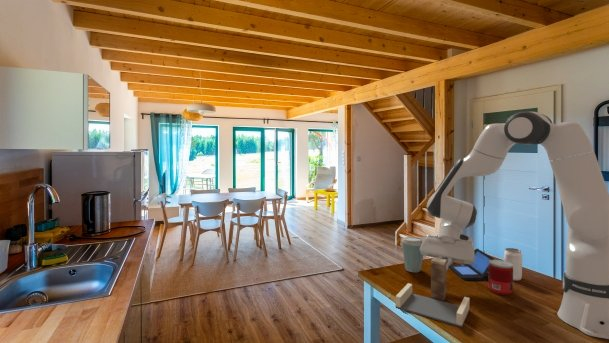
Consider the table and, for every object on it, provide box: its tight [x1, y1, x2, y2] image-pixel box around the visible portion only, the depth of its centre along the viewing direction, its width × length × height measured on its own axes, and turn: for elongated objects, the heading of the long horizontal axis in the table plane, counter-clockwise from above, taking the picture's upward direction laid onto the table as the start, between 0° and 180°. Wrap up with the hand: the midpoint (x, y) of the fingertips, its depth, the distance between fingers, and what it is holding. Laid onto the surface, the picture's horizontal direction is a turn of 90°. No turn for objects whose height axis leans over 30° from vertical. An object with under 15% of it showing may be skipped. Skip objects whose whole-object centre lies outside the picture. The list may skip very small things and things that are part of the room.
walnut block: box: [430, 257, 448, 301], centre depth 116 cm, size 4×4×14 cm
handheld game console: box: [448, 248, 496, 281], centre depth 138 cm, size 16×13×9 cm
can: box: [503, 247, 523, 281], centre depth 132 cm, size 6×6×12 cm
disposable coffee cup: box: [401, 236, 424, 273], centre depth 142 cm, size 11×11×15 cm
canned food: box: [487, 259, 514, 296], centre depth 120 cm, size 8×8×11 cm
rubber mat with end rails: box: [395, 282, 471, 328], centre depth 107 cm, size 21×13×4 cm, turn 53°
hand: (443, 268), depth 122 cm, fingers closed
